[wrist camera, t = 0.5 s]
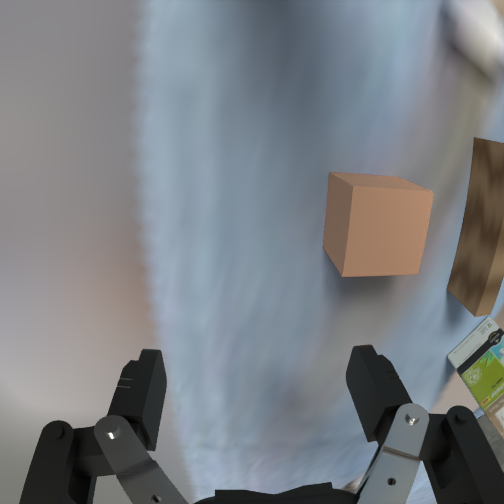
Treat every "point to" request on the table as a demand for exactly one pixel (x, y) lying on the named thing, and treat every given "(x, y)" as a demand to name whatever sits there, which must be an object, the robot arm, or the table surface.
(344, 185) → the terracotta block
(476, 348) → the tea box
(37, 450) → the robot arm
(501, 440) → the coffeepot
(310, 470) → the table surface
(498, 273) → the walnut board
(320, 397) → the table surface
